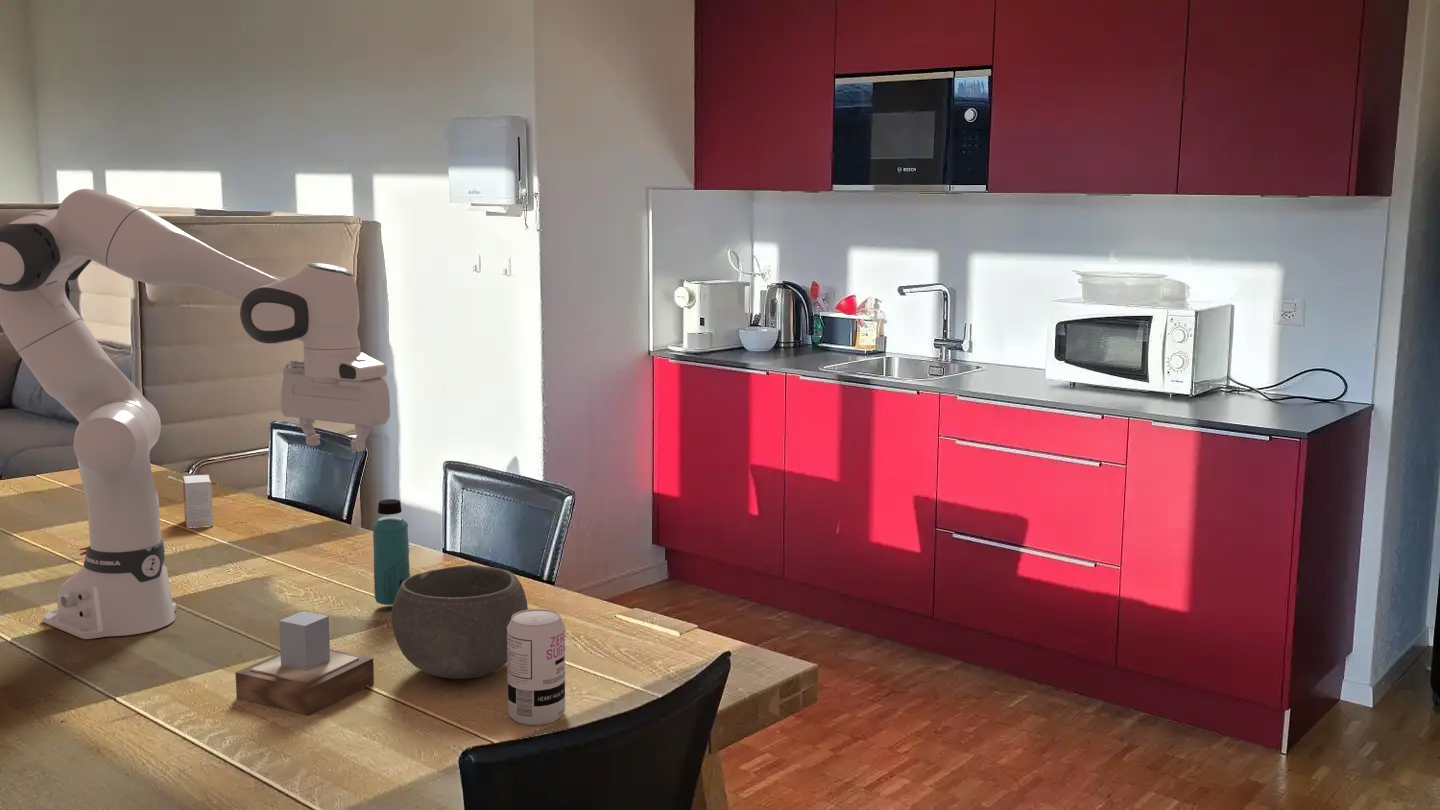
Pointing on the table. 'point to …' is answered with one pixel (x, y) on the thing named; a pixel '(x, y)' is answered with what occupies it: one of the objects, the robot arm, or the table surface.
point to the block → (304, 640)
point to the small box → (197, 501)
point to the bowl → (457, 619)
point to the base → (304, 682)
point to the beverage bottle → (390, 552)
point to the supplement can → (536, 666)
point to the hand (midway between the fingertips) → (335, 448)
